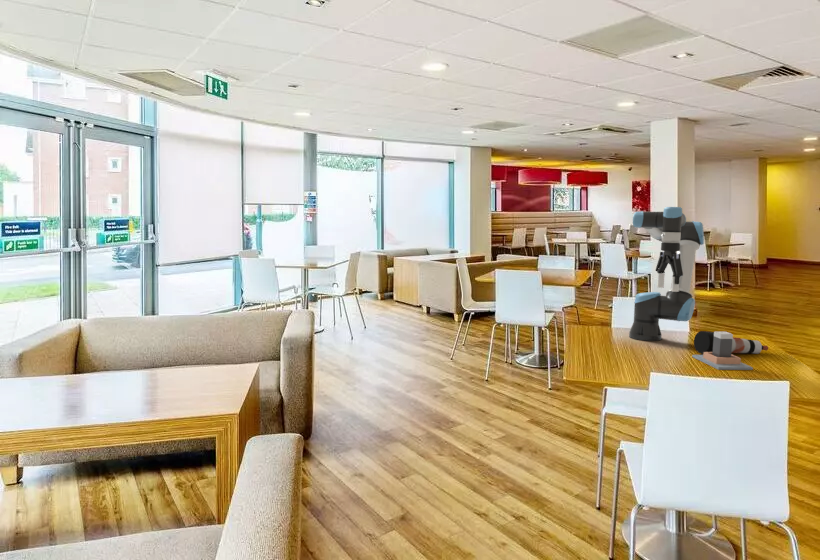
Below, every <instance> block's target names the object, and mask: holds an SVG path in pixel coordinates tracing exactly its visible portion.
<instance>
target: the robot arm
mask: <svg viewBox="0 0 820 560" xmlns="http://www.w3.org/2000/svg"><path fill="white" fill-rule="evenodd" d="M632 226H633V227H634V228H639V229H644V230H646V231H647V232H648V234H649V235H650V236H651V237H652V239H654V240H656V241H658V242H661V245H660V246H661V247H660V250H661V251H660V252H659V257H658V260H657V263H656V267H655V271H656V272H657V282H656V283H657V285H656V287H657V288H658V289H659V288H661V289H662V288H664V287H665V276H666V275H665V274H666V273H665V271H666V269H667V268H668V265H670V268H671V271H672V276H671V277H672V279H671V283H670V289H669V290H667V291H666V293H665V295H661V292H658V291H647V292H640V293H639V292H638V293H637V294H636V295H635V296H634V297H635V298H634V308H633V309H634V311H633V323H632V325H631V328H630V329H629V333H628V335H629V336H628V337H629V338H630V339H634V340H639V341H647V342H649V341H650V342H654V341H655V342H657V341H658V342H659V341H661V340H662V332H661V327H660V323H659V322H660V321H659V320H666V321H667V320H668V321H675V322H689V321H690V320H691V319H692V317H693V313H694V311H695V310H694V309H695V305H696V300H695V298H693V294H692V293H690V291H691V283H692V278H693V277H692V276H693V269H694V264H695V257H696V251H698V250H699V249H700V246H702V245H704V243H705V235H704V224H703V223H702V222H701V221H693V220H692V221H687V217H686V215H685V214H684V213H683V207H681V206H665V207H664V208H663V211H643V210H641V211H636V212H634V213H633V215H632ZM651 237H650V238H651Z"/></svg>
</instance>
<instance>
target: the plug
mask: <svg viewBox="0 0 820 560" xmlns="http://www.w3.org/2000/svg"><path fill="white" fill-rule="evenodd" d="M713 332H714V340H713V353H712V355H714V356H716V357H731V354H732V353H731V352H732V339H733V337H734V334H732V333H731V332H727V331H713Z"/></svg>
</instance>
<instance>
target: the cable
mask: <svg viewBox="0 0 820 560" xmlns="http://www.w3.org/2000/svg"><path fill="white" fill-rule="evenodd" d="M714 332H715V331H706V330H700V331H698V332H697V333H696V334H695V335H694V339H693V347H694V349H695V351H696V352H697V353H698V354H700V355H703V353H704V352H713V340H714ZM768 350H769V346H768V345H763V344H762V343H761V341H759V340H752V339H748V338H741V337H735V336H733V339H732V352H731V354H753V355H754V354H760V353H761V352H762V351H768Z"/></svg>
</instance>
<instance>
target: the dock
mask: <svg viewBox="0 0 820 560" xmlns="http://www.w3.org/2000/svg"><path fill="white" fill-rule="evenodd" d="M712 353H713V352H704V353H703V354H692V358H693V359H696V360H698V361H700V362H702V363H704V364H707V365H708V366H710V367H712V368H714V369H716V370H718V371H719V370H722V371H723V370H724V371H725V370H727V371H729V370H730V371H731V370H735V371H737V370H738V371H739V370H741V371H747V370H748V371H749V370H750V371H751V370H752V371H753V369H754V368H753V367H752V366H751V365H748V364H746V363H743V362H742V361H741V360H742V357H739V356H736V355H734V354H733V353H731V357H716V356H714V355H712Z"/></svg>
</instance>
